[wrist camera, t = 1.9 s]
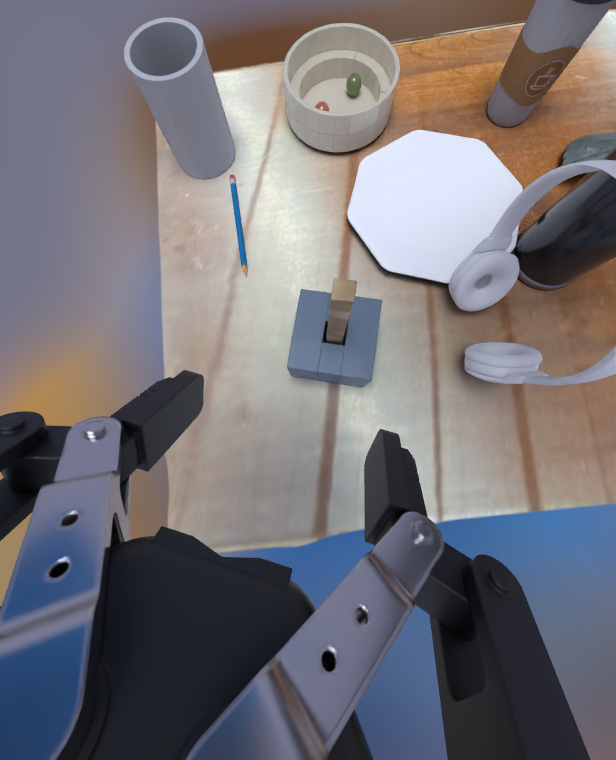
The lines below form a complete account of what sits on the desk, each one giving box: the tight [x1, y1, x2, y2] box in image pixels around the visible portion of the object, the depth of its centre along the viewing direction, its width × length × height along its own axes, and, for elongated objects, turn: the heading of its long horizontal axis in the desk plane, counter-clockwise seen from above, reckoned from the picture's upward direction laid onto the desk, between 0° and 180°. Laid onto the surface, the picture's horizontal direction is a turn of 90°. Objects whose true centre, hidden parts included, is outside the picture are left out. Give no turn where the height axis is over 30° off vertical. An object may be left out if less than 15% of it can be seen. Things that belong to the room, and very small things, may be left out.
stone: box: [560, 133, 616, 167], centre depth 38 cm, size 11×4×10 cm
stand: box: [287, 289, 382, 387], centre depth 33 cm, size 10×10×6 cm
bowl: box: [283, 23, 400, 152], centre depth 40 cm, size 16×16×6 cm
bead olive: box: [346, 73, 362, 96], centre depth 41 cm, size 2×2×2 cm
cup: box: [124, 18, 235, 179], centre depth 36 cm, size 9×9×12 cm
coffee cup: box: [487, 0, 616, 127], centre depth 34 cm, size 8×8×15 cm
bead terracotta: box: [315, 101, 330, 112], centre depth 40 cm, size 2×2×2 cm
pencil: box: [230, 175, 247, 276], centre depth 39 cm, size 1×17×1 cm, turn 9°
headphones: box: [449, 160, 616, 385], centre depth 26 cm, size 7×18×20 cm, turn 6°
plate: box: [347, 130, 523, 284], centre depth 38 cm, size 24×24×2 cm
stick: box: [326, 278, 357, 345], centre depth 28 cm, size 2×2×16 cm
